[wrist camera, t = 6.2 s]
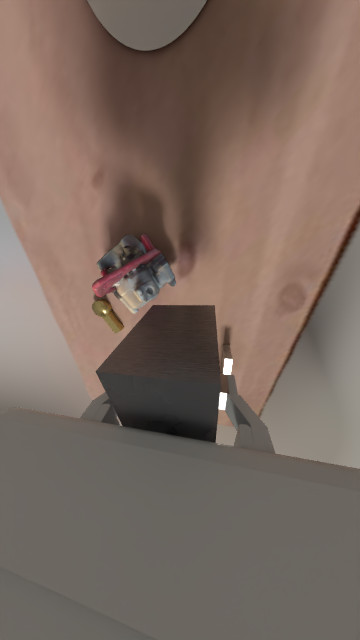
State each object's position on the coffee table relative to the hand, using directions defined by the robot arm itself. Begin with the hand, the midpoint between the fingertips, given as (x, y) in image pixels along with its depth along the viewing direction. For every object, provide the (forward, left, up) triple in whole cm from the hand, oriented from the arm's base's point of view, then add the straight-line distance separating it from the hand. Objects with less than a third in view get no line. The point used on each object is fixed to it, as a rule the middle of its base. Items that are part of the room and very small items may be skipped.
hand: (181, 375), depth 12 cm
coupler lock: (0, 0, -3) cm, 3 cm away
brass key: (+2, -17, -15) cm, 23 cm away
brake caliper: (-6, -9, -16) cm, 19 cm away
